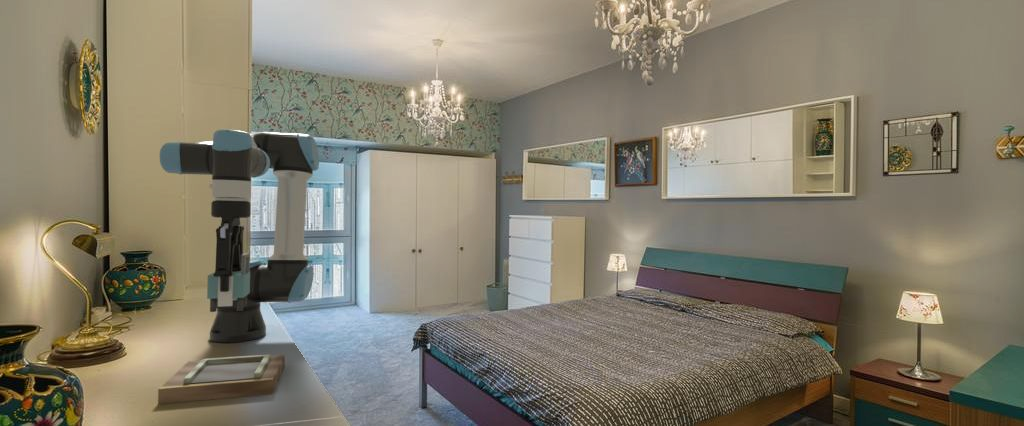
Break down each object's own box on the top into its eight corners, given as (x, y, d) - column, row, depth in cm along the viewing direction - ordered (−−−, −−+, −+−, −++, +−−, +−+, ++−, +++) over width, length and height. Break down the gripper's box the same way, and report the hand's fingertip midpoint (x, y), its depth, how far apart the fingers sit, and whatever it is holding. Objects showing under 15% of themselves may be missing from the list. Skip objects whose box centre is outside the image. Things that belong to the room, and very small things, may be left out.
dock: (188, 373, 113) (188, 356, 113) (284, 366, 119) (284, 350, 119) (158, 404, 96) (158, 383, 96) (272, 393, 102) (272, 374, 102)
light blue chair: (215, 306, 107) (216, 252, 107) (249, 305, 110) (250, 252, 109) (206, 312, 102) (208, 255, 102) (243, 311, 104) (244, 255, 104)
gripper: (223, 199, 113) (221, 295, 113) (198, 198, 95) (195, 312, 95) (258, 200, 116) (256, 294, 116) (240, 200, 98) (237, 311, 98)
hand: (229, 302), depth 106 cm, fingers closed on light blue chair, 6 cm apart
